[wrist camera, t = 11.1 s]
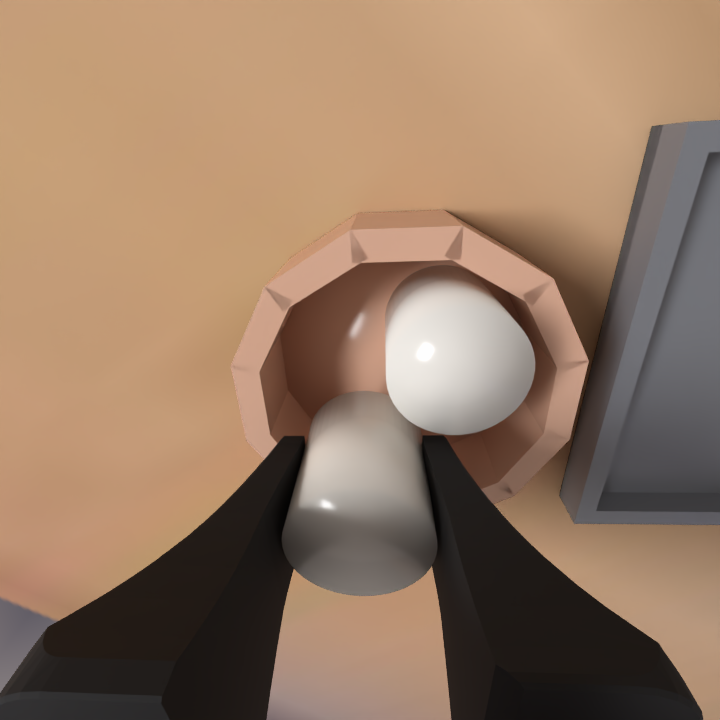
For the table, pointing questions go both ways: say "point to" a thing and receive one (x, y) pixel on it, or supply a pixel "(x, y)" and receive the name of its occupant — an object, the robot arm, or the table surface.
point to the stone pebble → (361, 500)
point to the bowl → (367, 338)
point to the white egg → (454, 353)
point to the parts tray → (658, 351)
